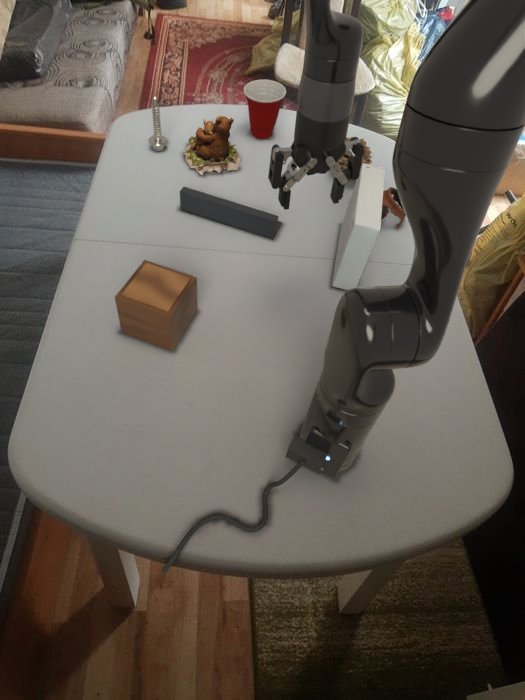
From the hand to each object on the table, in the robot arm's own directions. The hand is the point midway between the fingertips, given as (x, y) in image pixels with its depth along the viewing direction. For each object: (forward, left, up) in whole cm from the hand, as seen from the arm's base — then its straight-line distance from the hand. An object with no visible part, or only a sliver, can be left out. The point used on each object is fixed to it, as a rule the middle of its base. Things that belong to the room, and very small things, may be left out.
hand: (309, 203), depth 79 cm
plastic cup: (+50, +31, -21) cm, 62 cm away
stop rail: (+14, +21, -20) cm, 32 cm away
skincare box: (+16, -7, -21) cm, 27 cm away
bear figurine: (+32, +36, -21) cm, 53 cm away
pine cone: (+48, +7, -21) cm, 53 cm away
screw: (+28, +49, -21) cm, 60 cm away
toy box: (-20, +17, -20) cm, 33 cm away
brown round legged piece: (+32, -9, -21) cm, 39 cm away
